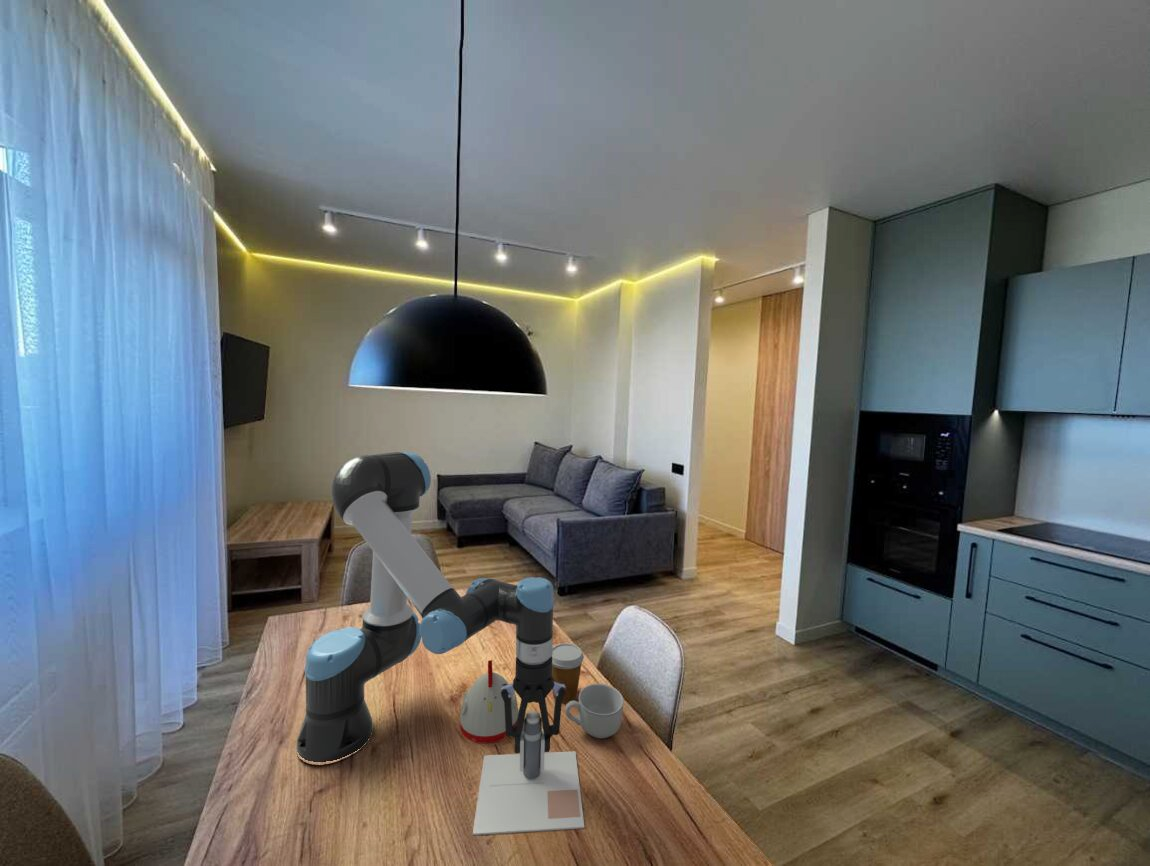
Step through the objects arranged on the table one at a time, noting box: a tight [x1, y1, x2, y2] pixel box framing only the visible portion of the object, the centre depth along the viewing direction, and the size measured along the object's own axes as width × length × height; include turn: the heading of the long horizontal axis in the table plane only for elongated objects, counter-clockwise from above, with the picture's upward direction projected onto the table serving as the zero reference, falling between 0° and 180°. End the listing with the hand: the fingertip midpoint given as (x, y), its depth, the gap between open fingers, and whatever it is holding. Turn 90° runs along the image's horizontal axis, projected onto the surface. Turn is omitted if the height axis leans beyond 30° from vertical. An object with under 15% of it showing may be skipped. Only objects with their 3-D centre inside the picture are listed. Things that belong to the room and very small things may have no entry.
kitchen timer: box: [459, 659, 519, 744], centre depth 107 cm, size 14×14×15 cm
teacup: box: [564, 683, 625, 739], centre depth 106 cm, size 14×11×8 cm
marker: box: [523, 710, 543, 779], centre depth 92 cm, size 4×4×12 cm
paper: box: [472, 750, 585, 836], centre depth 89 cm, size 20×18×1 cm
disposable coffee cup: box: [552, 642, 584, 704], centre depth 118 cm, size 10×10×12 cm
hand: (532, 765), depth 92 cm, fingers closed on marker, 3 cm apart
